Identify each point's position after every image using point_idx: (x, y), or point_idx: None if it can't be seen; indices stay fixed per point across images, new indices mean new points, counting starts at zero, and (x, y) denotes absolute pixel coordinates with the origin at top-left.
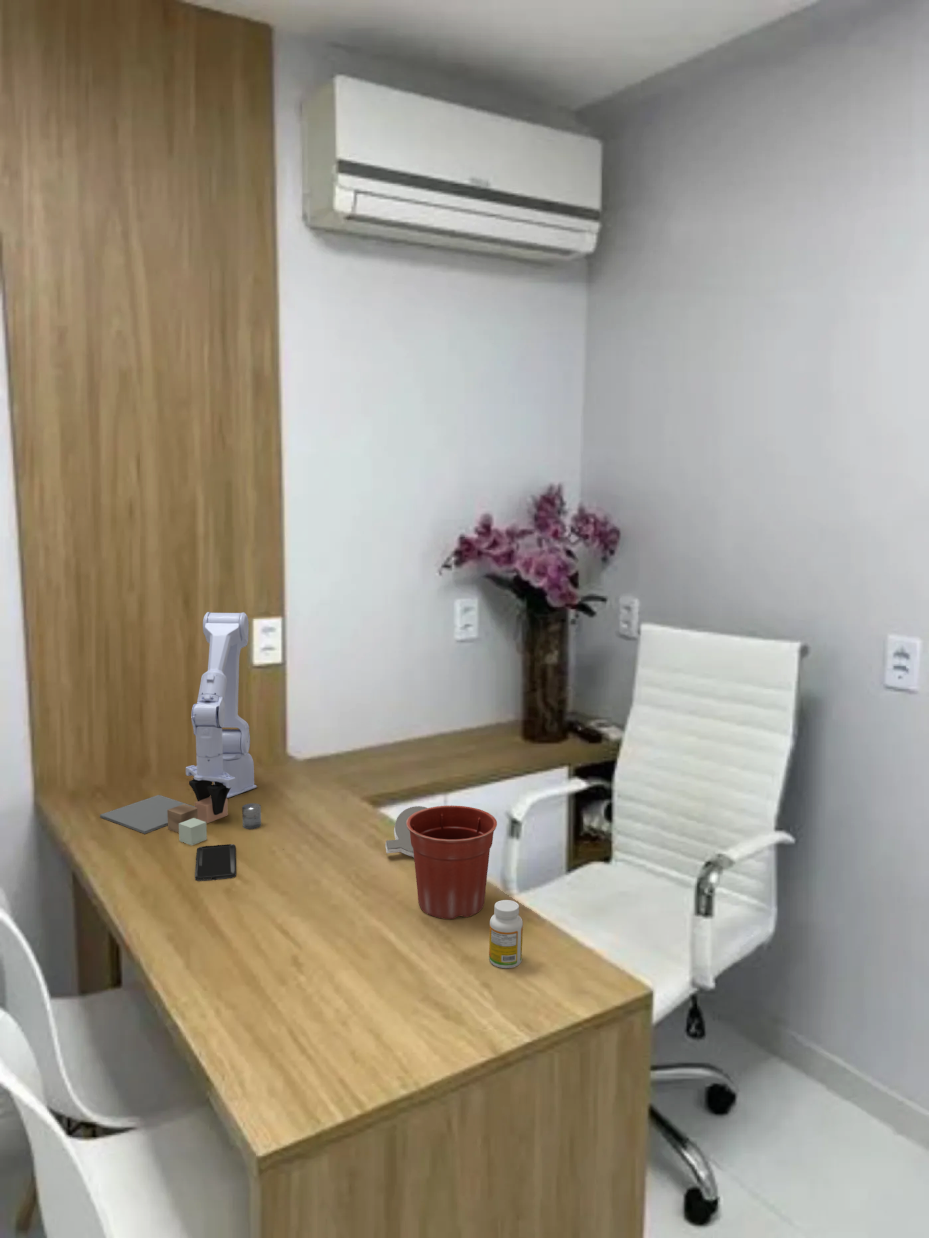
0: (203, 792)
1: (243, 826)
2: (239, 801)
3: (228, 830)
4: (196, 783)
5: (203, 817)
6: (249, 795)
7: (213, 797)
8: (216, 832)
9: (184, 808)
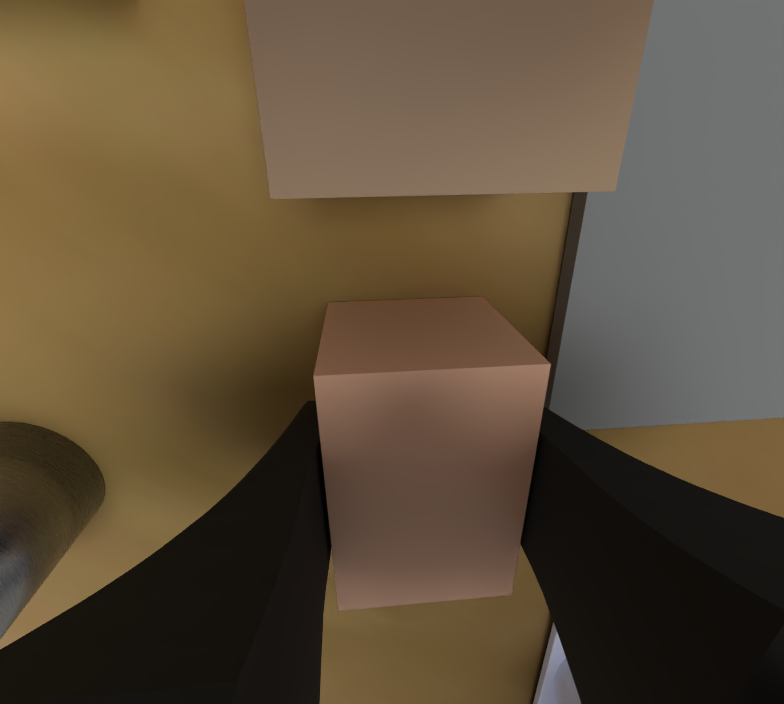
0: (575, 551)
1: (20, 430)
2: (468, 620)
3: (41, 316)
4: (780, 669)
5: (375, 314)
6: (486, 676)
7: (217, 529)
8: (60, 215)
9: (451, 29)
